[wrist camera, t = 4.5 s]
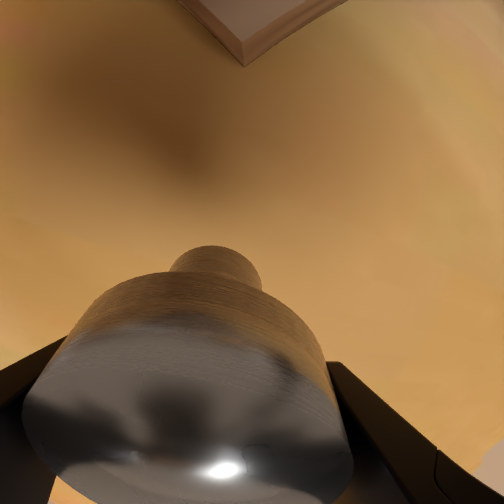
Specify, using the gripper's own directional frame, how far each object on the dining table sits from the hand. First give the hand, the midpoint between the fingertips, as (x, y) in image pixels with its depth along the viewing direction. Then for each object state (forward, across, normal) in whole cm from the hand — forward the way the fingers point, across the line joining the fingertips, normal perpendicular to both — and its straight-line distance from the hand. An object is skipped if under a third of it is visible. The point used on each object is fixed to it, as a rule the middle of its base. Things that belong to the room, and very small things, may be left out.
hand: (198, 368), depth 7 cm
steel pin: (+4, 0, 0) cm, 4 cm away
